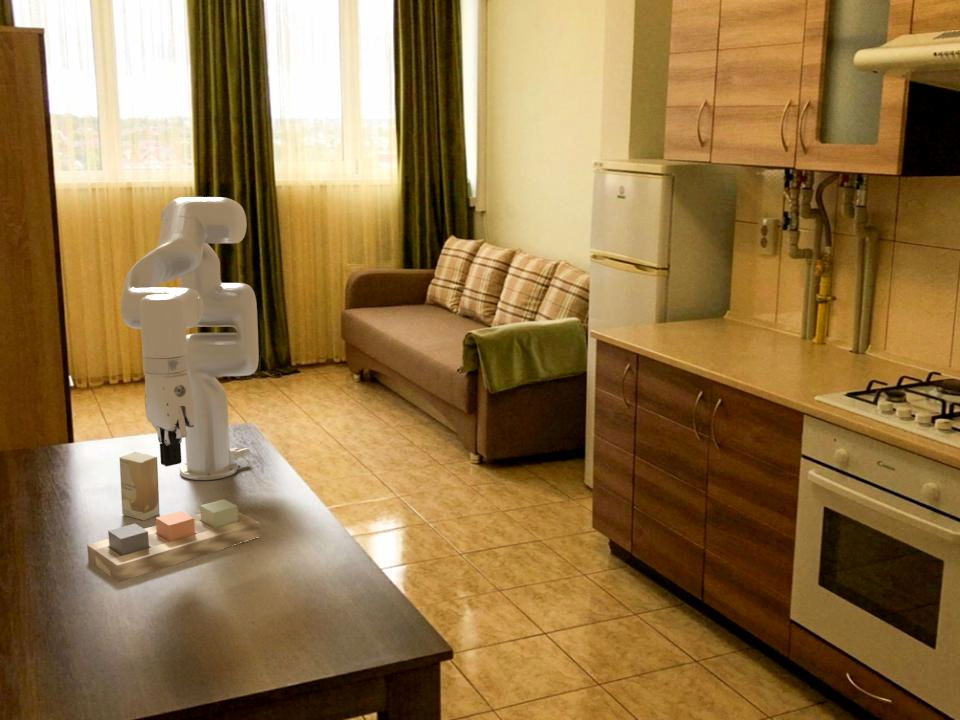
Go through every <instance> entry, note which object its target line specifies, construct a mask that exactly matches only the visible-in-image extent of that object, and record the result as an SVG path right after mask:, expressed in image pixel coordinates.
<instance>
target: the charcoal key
mask: <svg viewBox="0 0 960 720" xmlns="http://www.w3.org/2000/svg"><path fill="white" fill-rule="evenodd" d="M107 532H108V533H107V534H108V539H109V548H110V549H111V550H113V551H114V552H116V553H117V554H119V555H120V556H123V555H127V554H130V553H134V552H137V551H140V550H144V549H147V548H149V539H148V531H147V530H145V528H144V527H141V526H140V525H138V524H137V523H132V524H129V525H125V526H121V527H117V528H113V529H109V530H108V531H107Z"/></svg>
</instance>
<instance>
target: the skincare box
mask: <svg viewBox="0 0 960 720" xmlns="http://www.w3.org/2000/svg"><path fill="white" fill-rule="evenodd" d="M158 466H159V465H158V457H157V456H154V455H150V454H148V453H147V454H146V453H143V452H141V453H140V452H138V451H134V452H131V453H127V454H125V455H122V456H121V457H120V456H119V472H120V474H119V475H120V492H121V493H120V495H121V496H120V497H121V510H122V511H121V513H122V515H123V516H126V517H131V518H134V519H138V520H141V521H147V520H149V519H151V518H153V517H155V516H156V517H157V516H158V515H160V495H159V494H160V493H159V471H158V470H159V468H158Z"/></svg>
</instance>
